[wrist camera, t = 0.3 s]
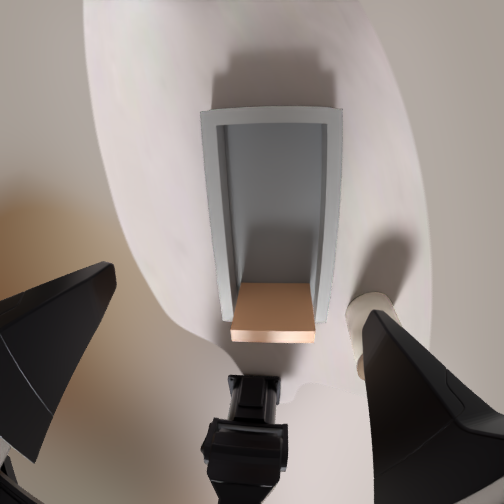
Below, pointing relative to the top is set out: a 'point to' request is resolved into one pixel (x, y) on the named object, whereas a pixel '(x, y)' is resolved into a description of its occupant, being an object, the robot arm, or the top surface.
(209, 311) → the top surface
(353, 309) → the cream brown-topped cylinder
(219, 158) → the grey tray
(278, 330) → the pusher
